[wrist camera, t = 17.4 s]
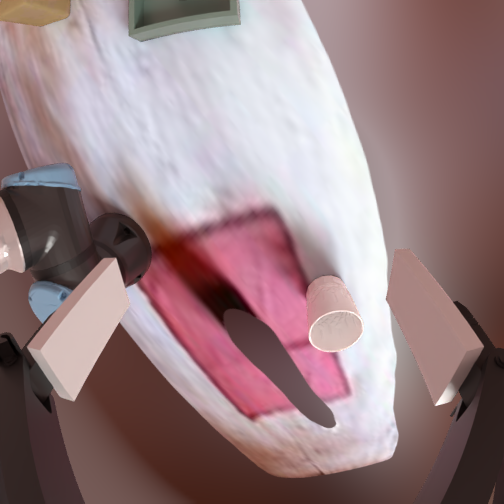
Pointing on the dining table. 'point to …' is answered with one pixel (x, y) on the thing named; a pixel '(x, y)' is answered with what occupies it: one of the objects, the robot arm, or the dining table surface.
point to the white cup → (332, 315)
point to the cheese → (34, 11)
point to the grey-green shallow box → (179, 16)
